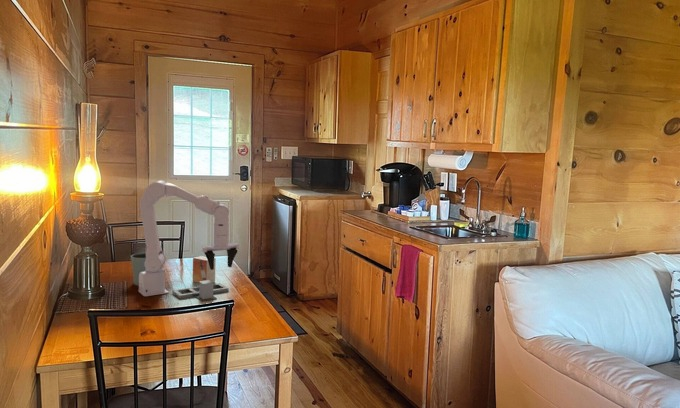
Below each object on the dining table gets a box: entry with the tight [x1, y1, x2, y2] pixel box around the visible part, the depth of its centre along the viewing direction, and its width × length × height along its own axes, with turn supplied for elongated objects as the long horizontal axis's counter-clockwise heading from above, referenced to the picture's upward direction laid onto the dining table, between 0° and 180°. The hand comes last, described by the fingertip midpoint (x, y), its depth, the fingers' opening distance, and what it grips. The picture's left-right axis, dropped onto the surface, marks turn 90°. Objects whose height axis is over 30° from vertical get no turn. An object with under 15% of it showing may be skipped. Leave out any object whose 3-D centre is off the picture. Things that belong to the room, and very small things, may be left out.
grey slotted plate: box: [171, 282, 230, 300], centre depth 200 cm, size 20×8×1 cm, turn 127°
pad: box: [195, 295, 218, 303], centre depth 193 cm, size 6×6×1 cm
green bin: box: [130, 252, 146, 287], centre depth 209 cm, size 10×10×12 cm
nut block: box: [198, 280, 214, 299], centre depth 193 cm, size 4×4×6 cm
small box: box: [192, 255, 216, 284], centre depth 215 cm, size 8×6×10 cm
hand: (220, 267), depth 201 cm, fingers open, 7 cm apart
